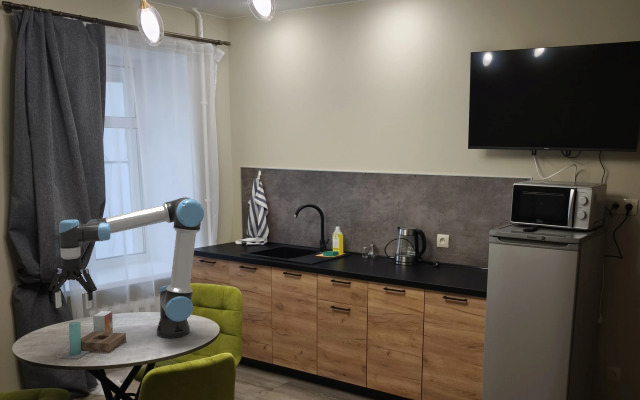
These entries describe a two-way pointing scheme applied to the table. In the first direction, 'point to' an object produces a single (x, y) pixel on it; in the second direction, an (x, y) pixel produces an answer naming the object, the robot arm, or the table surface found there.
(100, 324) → the small box
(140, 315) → the table surface
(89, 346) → the wooden block with hole
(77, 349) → the plug
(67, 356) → the mat
